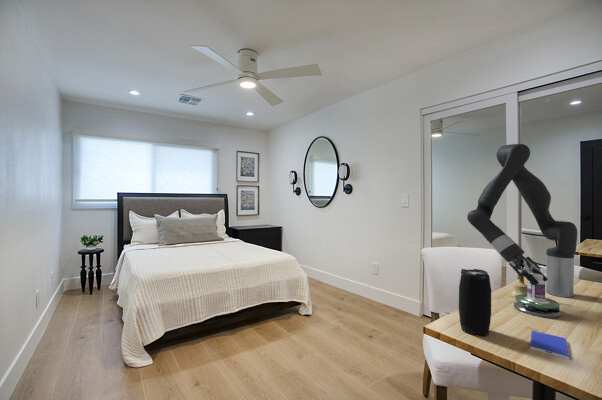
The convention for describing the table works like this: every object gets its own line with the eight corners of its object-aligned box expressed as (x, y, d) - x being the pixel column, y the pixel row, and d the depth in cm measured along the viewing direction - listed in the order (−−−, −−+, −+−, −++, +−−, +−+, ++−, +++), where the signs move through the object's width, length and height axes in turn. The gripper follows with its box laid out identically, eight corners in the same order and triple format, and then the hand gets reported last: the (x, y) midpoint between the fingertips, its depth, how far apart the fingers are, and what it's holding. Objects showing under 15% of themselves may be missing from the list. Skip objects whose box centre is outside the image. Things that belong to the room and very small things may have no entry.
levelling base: (512, 301, 118) (512, 291, 118) (556, 308, 110) (556, 297, 110) (515, 312, 106) (515, 301, 106) (565, 321, 98) (565, 309, 98)
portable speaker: (453, 328, 92) (453, 269, 92) (469, 322, 97) (469, 266, 97) (480, 340, 85) (481, 276, 85) (496, 332, 90) (496, 272, 90)
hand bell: (531, 301, 117) (532, 264, 117) (507, 296, 123) (508, 260, 123) (535, 297, 123) (535, 261, 123) (512, 292, 129) (512, 258, 129)
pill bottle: (546, 299, 108) (547, 275, 108) (543, 302, 104) (543, 277, 104) (529, 295, 112) (529, 272, 112) (525, 298, 109) (525, 274, 109)
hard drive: (531, 329, 90) (530, 345, 80) (566, 338, 84) (569, 355, 75) (531, 334, 90) (530, 350, 80) (566, 343, 84) (569, 361, 75)
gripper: (506, 244, 111) (542, 280, 101) (522, 241, 118) (557, 274, 108) (491, 255, 115) (524, 290, 105) (507, 251, 122) (540, 284, 113)
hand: (541, 282), depth 107 cm, fingers open, 8 cm apart
